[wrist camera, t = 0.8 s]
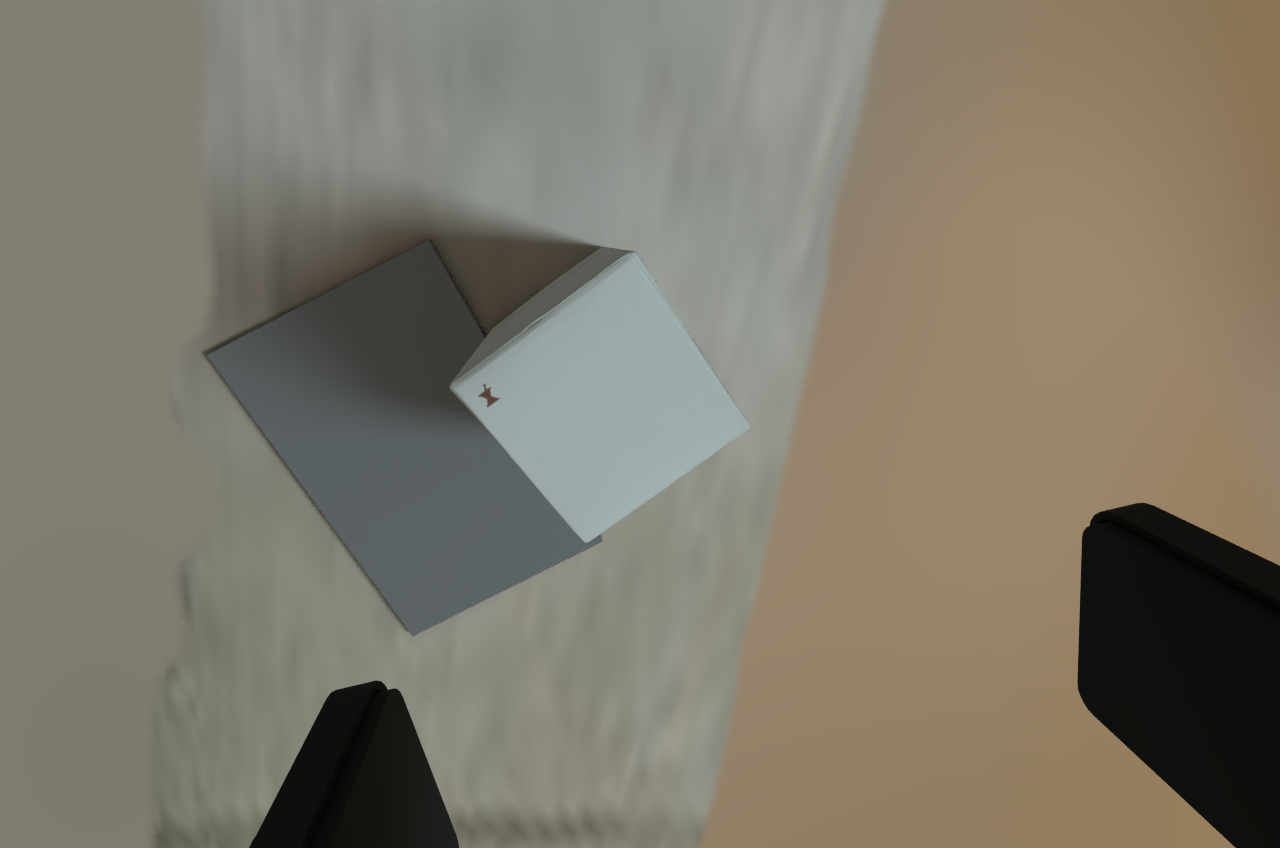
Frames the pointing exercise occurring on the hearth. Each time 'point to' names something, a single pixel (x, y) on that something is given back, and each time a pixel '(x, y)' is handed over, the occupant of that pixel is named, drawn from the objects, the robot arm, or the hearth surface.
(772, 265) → the hearth surface
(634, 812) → the hearth surface
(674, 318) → the supplement box
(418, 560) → the mat
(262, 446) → the hearth surface
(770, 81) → the hearth surface
